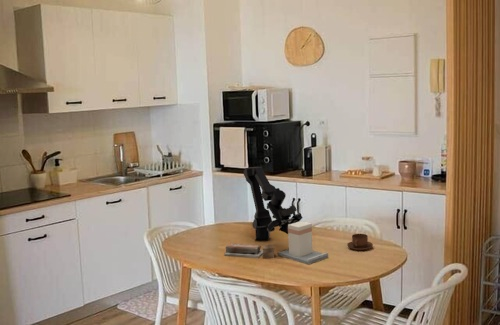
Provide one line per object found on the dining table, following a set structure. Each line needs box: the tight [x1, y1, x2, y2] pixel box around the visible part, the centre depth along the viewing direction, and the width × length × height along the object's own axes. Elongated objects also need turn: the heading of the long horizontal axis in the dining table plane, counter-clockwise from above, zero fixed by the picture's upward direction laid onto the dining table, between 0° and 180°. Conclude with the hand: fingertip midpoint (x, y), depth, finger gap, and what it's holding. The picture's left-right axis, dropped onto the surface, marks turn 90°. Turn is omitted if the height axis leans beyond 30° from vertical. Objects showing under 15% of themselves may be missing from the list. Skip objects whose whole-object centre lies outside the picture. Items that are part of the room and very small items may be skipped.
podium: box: [277, 248, 329, 265], centre depth 267 cm, size 20×13×2 cm, turn 40°
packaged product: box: [223, 242, 263, 259], centre depth 275 cm, size 18×5×10 cm
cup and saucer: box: [346, 233, 374, 251], centre depth 275 cm, size 12×12×6 cm
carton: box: [287, 220, 314, 257], centre depth 267 cm, size 7×9×14 cm
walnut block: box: [262, 244, 275, 259], centre depth 269 cm, size 5×5×5 cm
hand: (294, 236), depth 270 cm, fingers closed
